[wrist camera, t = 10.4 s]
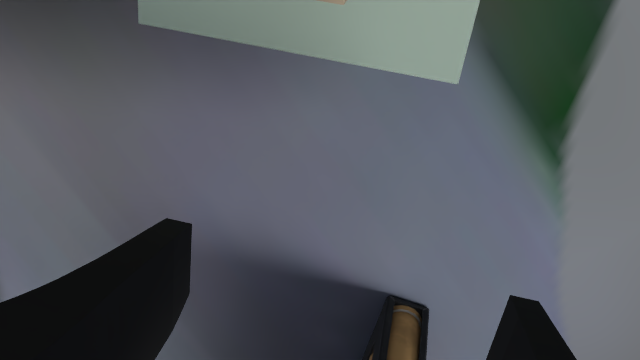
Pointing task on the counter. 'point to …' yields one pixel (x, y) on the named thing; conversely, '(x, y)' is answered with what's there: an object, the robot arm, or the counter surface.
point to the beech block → (335, 1)
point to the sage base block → (335, 29)
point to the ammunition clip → (399, 332)
